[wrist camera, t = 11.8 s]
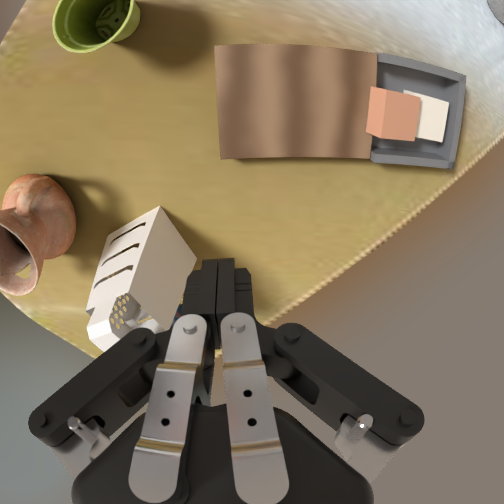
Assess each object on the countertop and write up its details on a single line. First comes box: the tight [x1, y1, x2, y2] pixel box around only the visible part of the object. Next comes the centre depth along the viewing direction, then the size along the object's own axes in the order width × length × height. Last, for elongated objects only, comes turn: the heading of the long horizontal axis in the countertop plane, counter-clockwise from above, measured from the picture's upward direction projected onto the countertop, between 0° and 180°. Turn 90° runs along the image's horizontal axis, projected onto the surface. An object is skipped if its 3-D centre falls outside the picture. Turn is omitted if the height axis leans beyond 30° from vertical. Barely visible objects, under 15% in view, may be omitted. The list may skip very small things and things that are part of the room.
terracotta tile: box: [366, 86, 421, 141], centre depth 31 cm, size 6×6×3 cm
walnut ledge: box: [215, 44, 377, 159], centre depth 33 cm, size 19×14×3 cm
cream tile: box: [403, 90, 449, 142], centre depth 33 cm, size 6×6×3 cm
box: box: [370, 53, 466, 169], centre depth 33 cm, size 14×14×4 cm
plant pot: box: [53, 0, 141, 53], centre depth 22 cm, size 9×9×9 cm
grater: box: [86, 206, 197, 352], centre depth 37 cm, size 10×10×20 cm
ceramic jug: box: [0, 174, 76, 296], centre depth 34 cm, size 18×14×14 cm
